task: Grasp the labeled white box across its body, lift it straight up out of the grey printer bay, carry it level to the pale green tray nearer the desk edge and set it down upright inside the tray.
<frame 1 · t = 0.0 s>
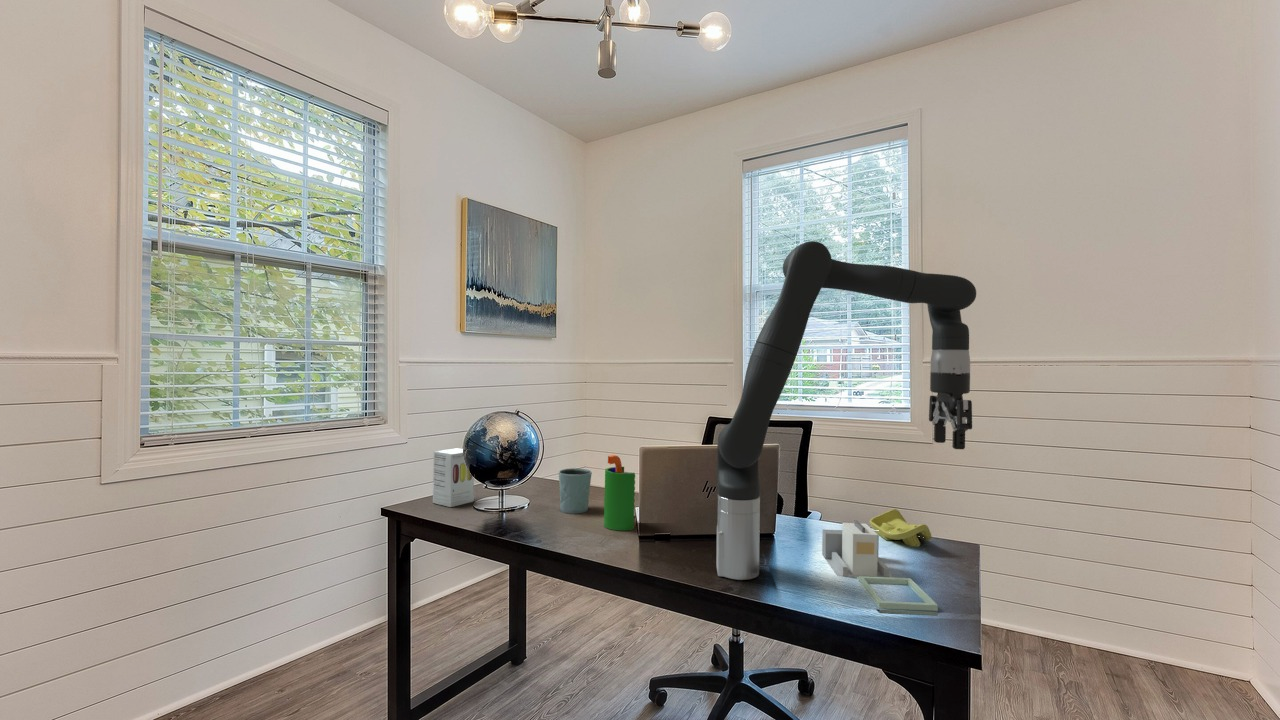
hand: (948, 445, 120), 29 cm above the table, fingers open, 8 cm apart
printer bay: (857, 571, 124), on the table
supplement box: (453, 503, 179), on the table
labeled white box: (859, 568, 123), point 1 cm above the table, touching printer bay
motor: (619, 526, 157), on the table
pale teal cup: (574, 510, 172), on the table
plastic component: (900, 541, 146), on the table
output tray: (895, 599, 110), on the table
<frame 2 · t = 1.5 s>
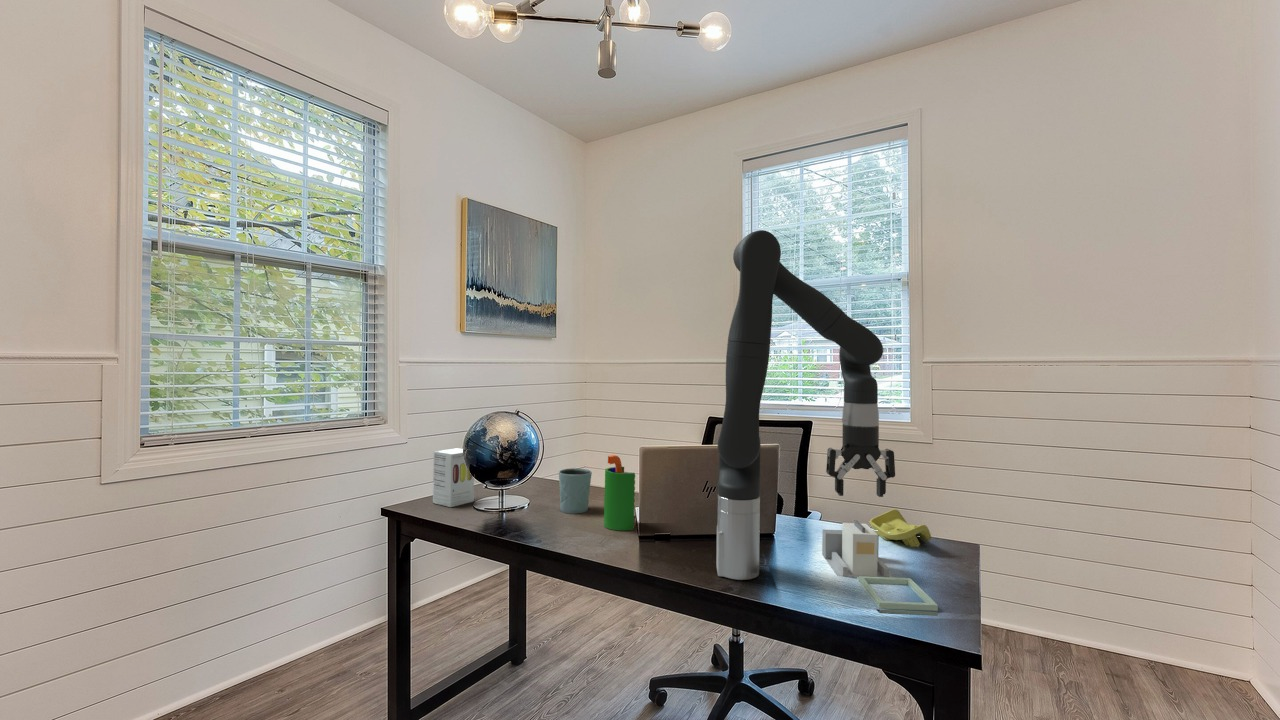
hand: (860, 495, 123), 17 cm above the table, fingers open, 8 cm apart
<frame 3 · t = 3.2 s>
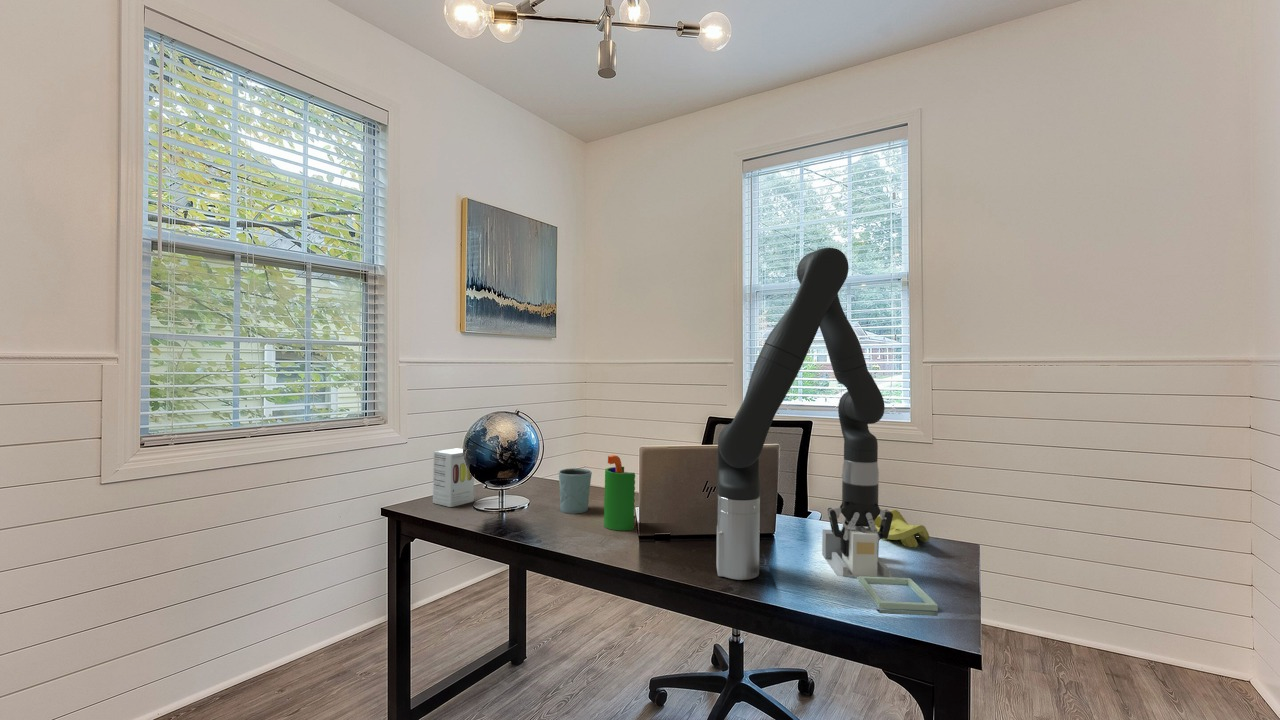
hand: (859, 555, 123), 4 cm above the table, fingers closed on labeled white box, 5 cm apart
labeled white box: (859, 568, 123), point 1 cm above the table, touching gripper, printer bay
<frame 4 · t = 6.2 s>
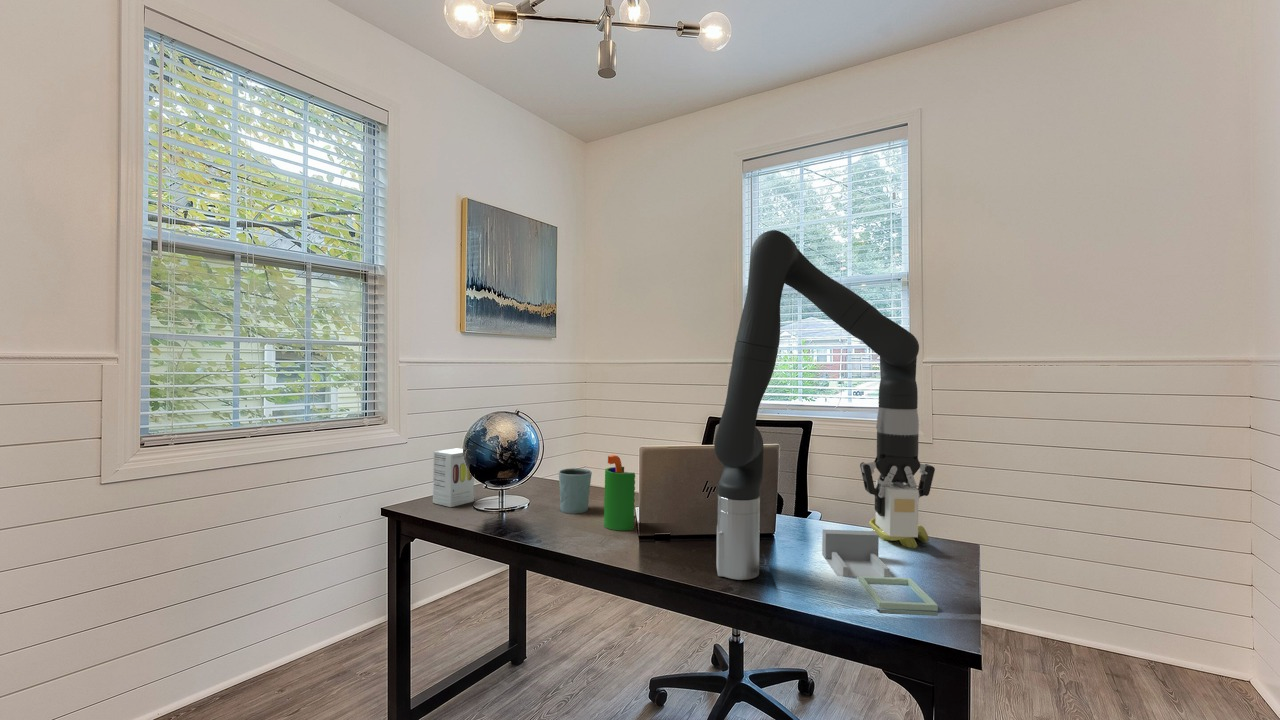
hand: (896, 515, 110), 17 cm above the table, fingers closed on labeled white box, 5 cm apart
labeled white box: (895, 530, 110), point 14 cm above the table, touching gripper
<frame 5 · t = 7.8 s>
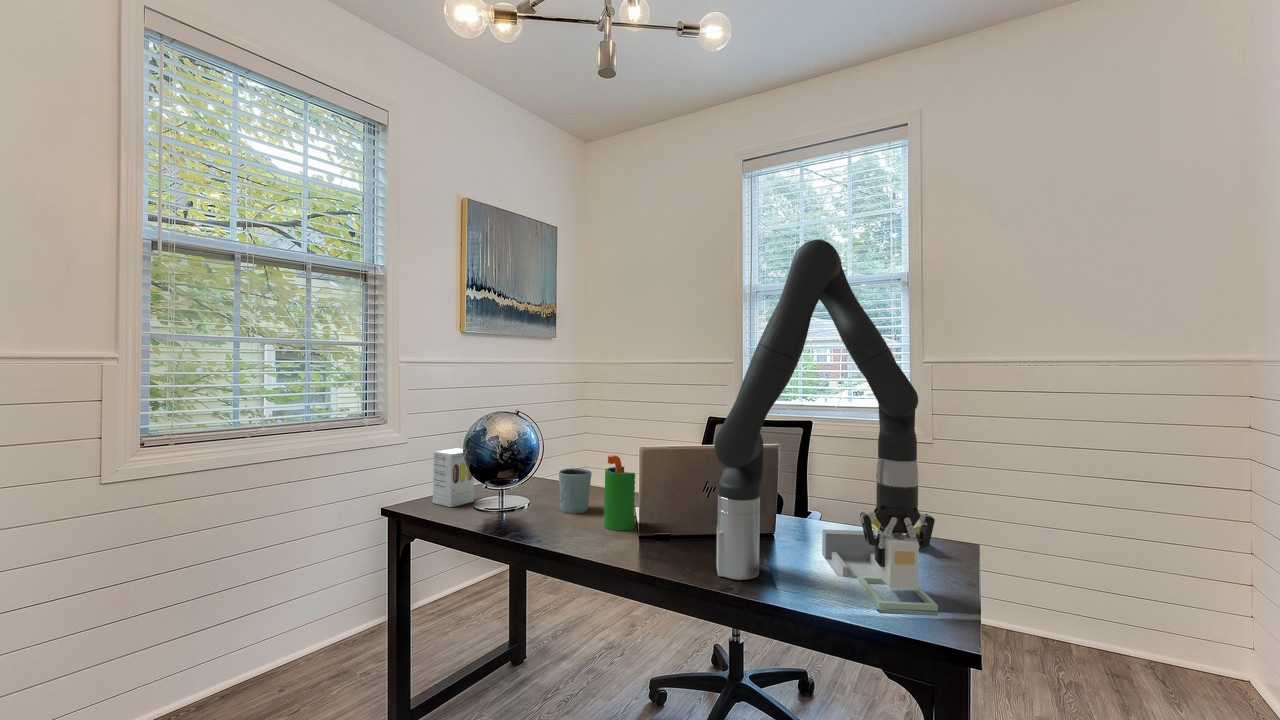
hand: (896, 565, 110), 7 cm above the table, fingers closed on labeled white box, 5 cm apart
labeled white box: (896, 580, 110), point 4 cm above the table, touching gripper
when the fingers open (5 cm above the table, at t = 9.2 s): labeled white box stays where it is, resting on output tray.
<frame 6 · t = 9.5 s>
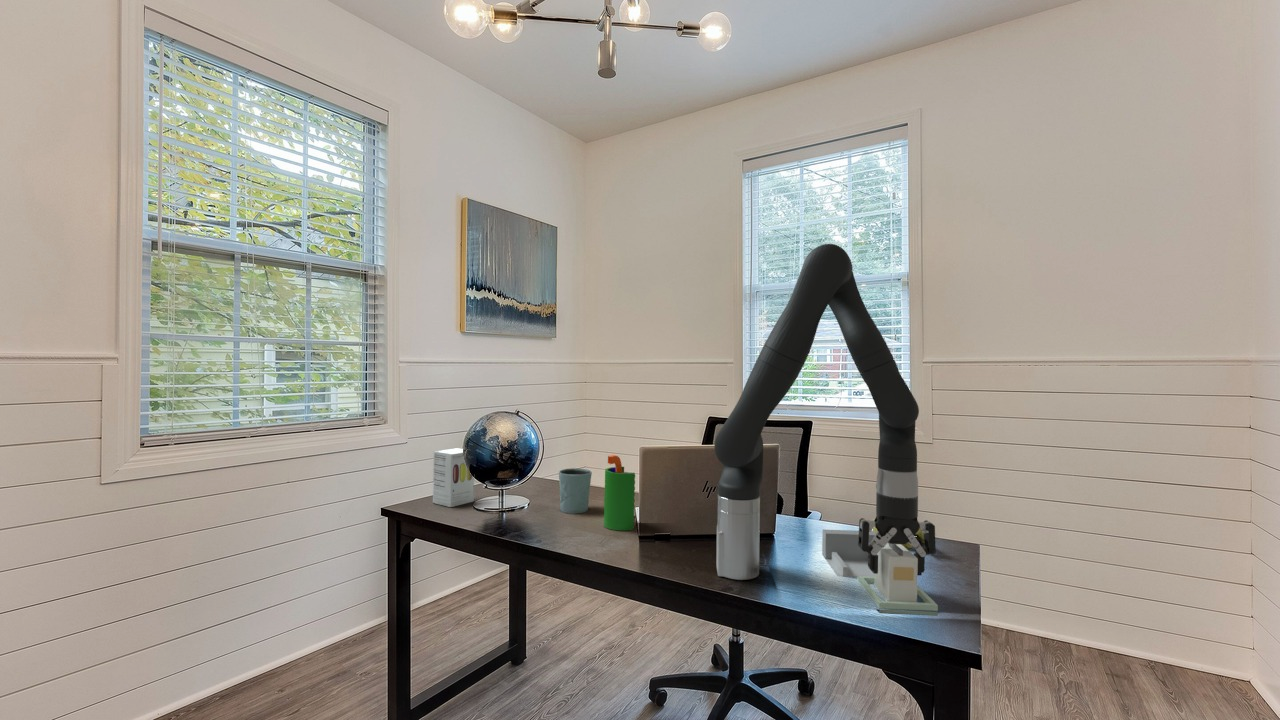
hand: (895, 573, 110), 5 cm above the table, fingers open, 8 cm apart
labeled white box: (895, 595, 110), point 1 cm above the table, touching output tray
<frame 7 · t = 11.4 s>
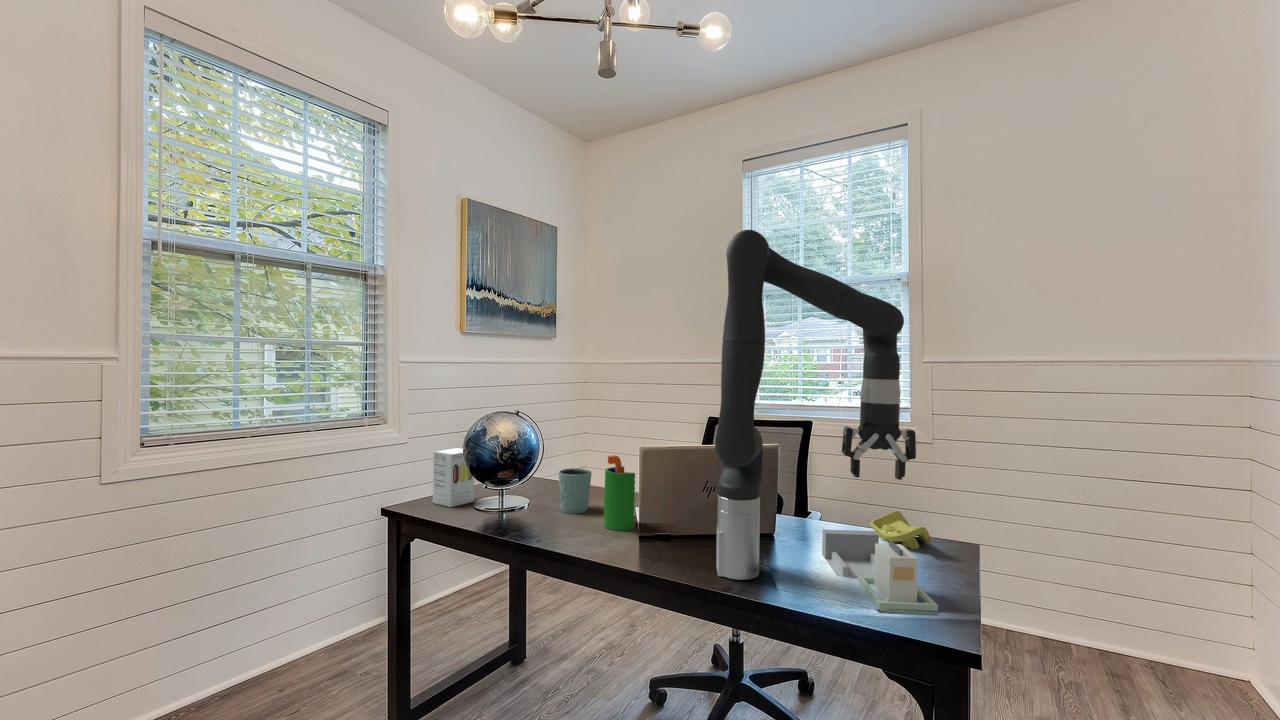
hand: (877, 477, 116), 23 cm above the table, fingers open, 8 cm apart
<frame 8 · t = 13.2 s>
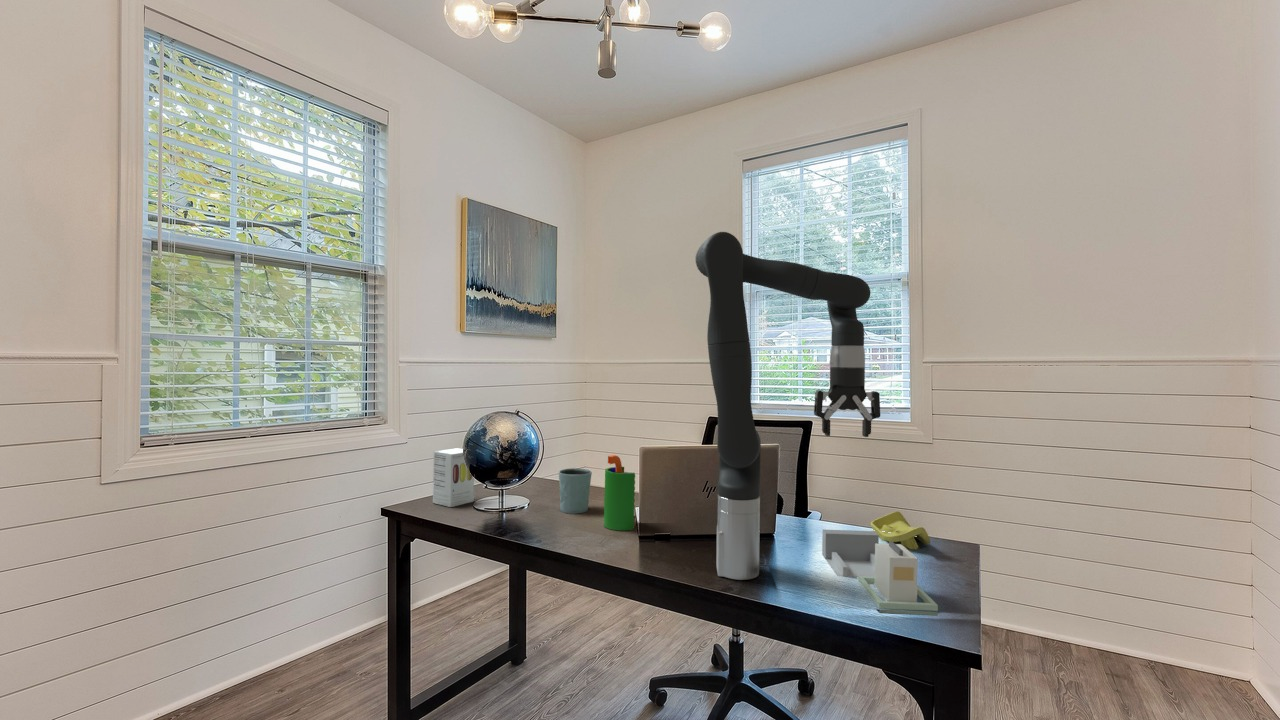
hand: (846, 436, 127), 30 cm above the table, fingers open, 8 cm apart
at the end: labeled white box inside the target area on the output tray (0.1 cm from its centre), point 0.8 cm above the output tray's base; labeled white box tilted 0°; the gripper is holding nothing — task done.
